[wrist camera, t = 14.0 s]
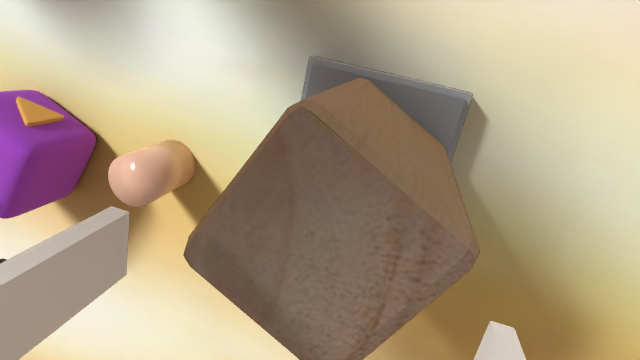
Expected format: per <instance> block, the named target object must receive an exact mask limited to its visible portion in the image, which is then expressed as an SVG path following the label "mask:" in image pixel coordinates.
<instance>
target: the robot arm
mask: <svg viewBox="0 0 640 360" xmlns="http://www.w3.org/2000/svg"><path fill="white" fill-rule="evenodd" d="M129 216H130V212H129V211H126V210H122V209H119V208H116V207H112V206H111V207H109V208H107V209H105V210H103V211H101V212H99V213H97V214H95V215H93V216H91V217H89V218H87V219H85V220H83V221H82V222H80V223H78V224H76V225H74V226H72V227H70V228H68V229H66V230H64V231H62V232H60V233H58V234H56V235H55V236H53V237H51V238H49V239H47V240H45V241H43V242H41V243H39V244H37V245H35V246H33V247H31V248H29V249H27V250H26V251H24V252H22V253H20V254H18V255H16V256H14V257H12V258H10V259H8V260H6V259H0V360H19V359H20V358H21V357H22V356H24V355H25V354H26V353H28V352H29V351H30V350H31V349H33V348H34V347H35V346H36V345H38V344H39V343H40V342H42V341H43V340H44V339H45V338H47V337H48V336H49V335H50V334H52V333H53V332H54V331H55V330H57V329H58V328H59V327H61V326H62V325H63V324H64V323H66V322H67V321H68V320H69V319H71V318H72V317H73V316H75V315H76V314H77V313H78V312H80V311H81V310H82V309H83V308H85V307H86V306H87V305H89V304H90V303H91V302H92V301H94V300H95V299H96V298H97V297H99V296H100V295H101V294H103V293H104V292H105V291H106V290H108V289H109V288H110V287H111V286H113V285H114V284H115V283H117V282H118V281H119V280H120V279H122V278H123V277H124V276H125V275H126V273H127V254H128V235H129ZM474 360H526V358H525V355H524V353H523V350H522V347H521V345H520V342H519V339H518V337H517V334H516V331H515V329H514V328H513V327H510V326H506V325H503V324H500V323H497V322H493V321H490V322H489V325H488V327H487V329H486V332H485V334H484V336H483V339H482V341H481V343H480V346H479V348H478V350H477V353H476V355H475V357H474Z"/></svg>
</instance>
